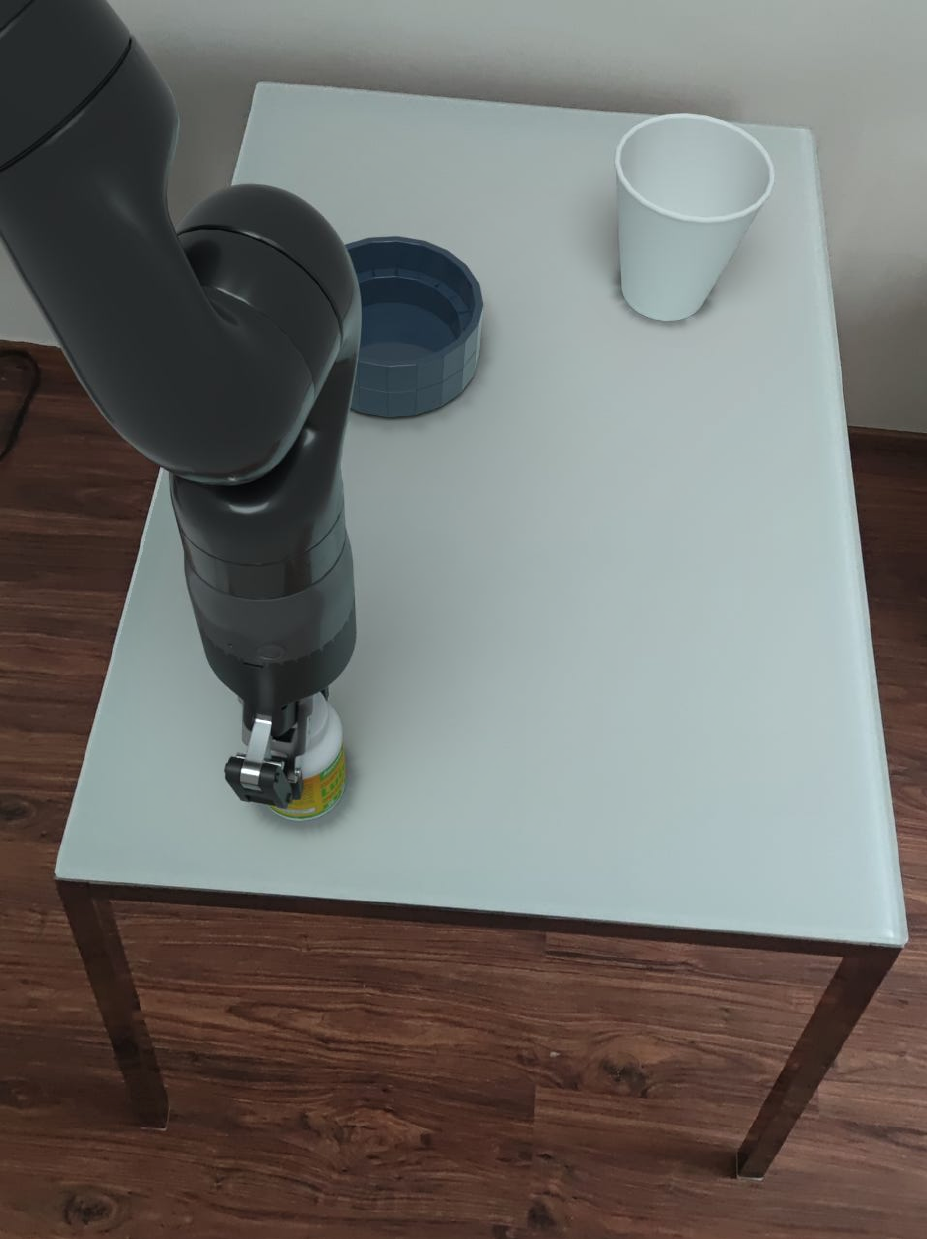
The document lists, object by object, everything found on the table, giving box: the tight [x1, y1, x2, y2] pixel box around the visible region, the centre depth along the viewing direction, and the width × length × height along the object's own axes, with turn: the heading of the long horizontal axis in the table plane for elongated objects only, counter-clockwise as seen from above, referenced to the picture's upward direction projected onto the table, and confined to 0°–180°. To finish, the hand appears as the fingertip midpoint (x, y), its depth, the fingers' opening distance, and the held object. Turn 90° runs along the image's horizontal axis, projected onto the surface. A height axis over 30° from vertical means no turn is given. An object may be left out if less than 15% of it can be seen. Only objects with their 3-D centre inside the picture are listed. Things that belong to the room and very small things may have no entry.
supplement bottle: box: [266, 692, 347, 822], centre depth 71 cm, size 5×5×10 cm
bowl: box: [344, 235, 484, 418], centre depth 92 cm, size 13×13×6 cm
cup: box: [613, 112, 776, 322], centre depth 94 cm, size 12×12×12 cm
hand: (297, 744), depth 71 cm, fingers closed on supplement bottle, 5 cm apart
